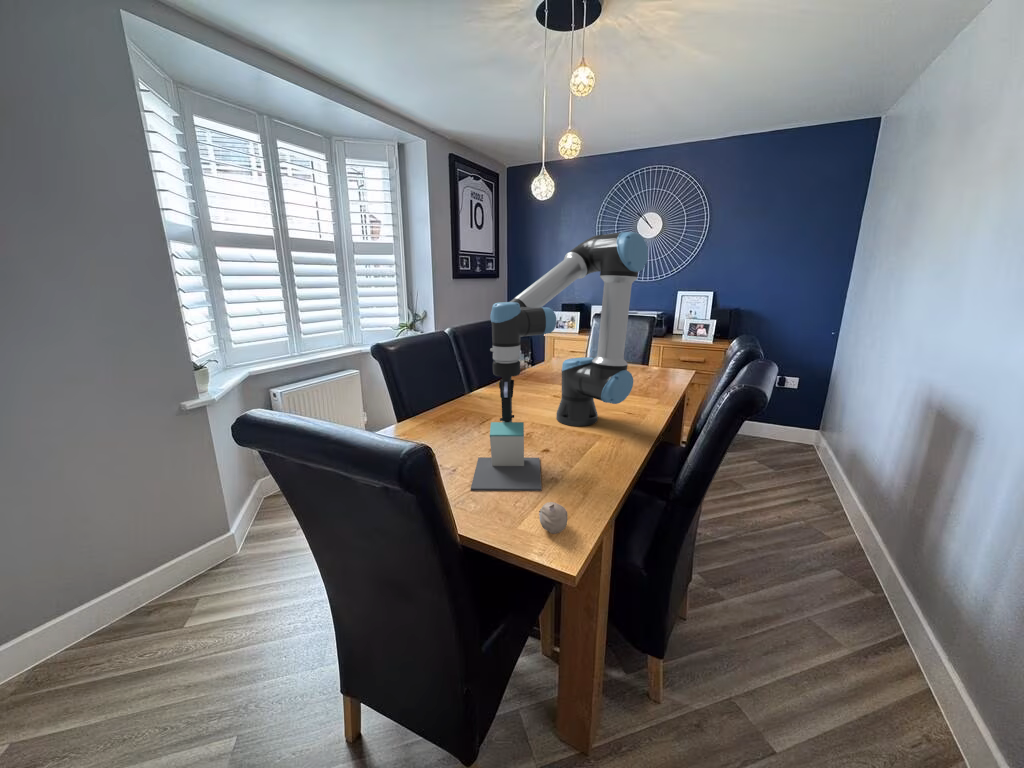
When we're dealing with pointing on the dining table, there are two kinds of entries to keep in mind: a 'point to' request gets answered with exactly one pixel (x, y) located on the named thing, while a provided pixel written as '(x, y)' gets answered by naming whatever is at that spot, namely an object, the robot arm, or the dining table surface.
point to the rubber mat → (507, 476)
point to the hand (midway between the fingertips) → (507, 440)
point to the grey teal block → (507, 443)
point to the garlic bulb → (553, 517)
